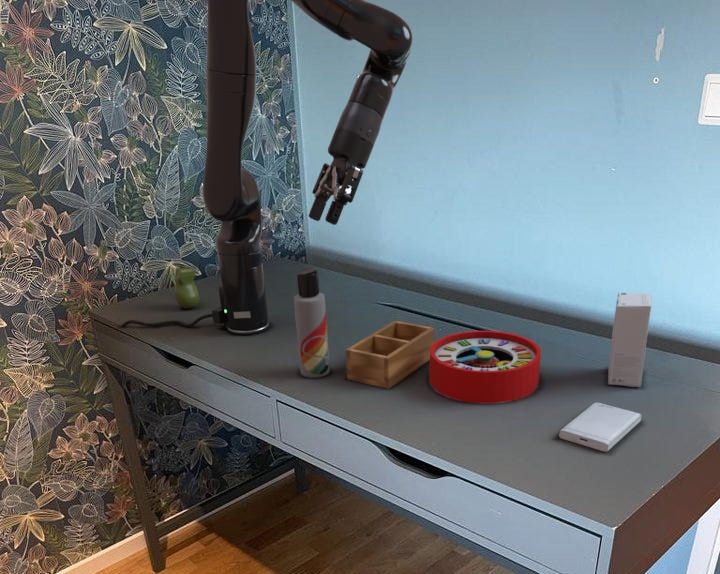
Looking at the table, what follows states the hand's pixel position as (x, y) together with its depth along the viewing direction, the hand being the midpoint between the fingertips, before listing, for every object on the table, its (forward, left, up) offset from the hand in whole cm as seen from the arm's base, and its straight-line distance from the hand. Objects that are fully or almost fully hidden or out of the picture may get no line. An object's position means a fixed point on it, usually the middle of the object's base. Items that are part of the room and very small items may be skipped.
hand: (321, 221), depth 144 cm
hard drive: (+58, -6, -26) cm, 64 cm away
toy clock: (+33, +3, -26) cm, 42 cm away
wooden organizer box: (+15, 0, -26) cm, 30 cm away
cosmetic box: (+55, +16, -26) cm, 63 cm away
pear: (-47, +8, -26) cm, 54 cm away
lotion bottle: (+3, -9, -26) cm, 28 cm away
